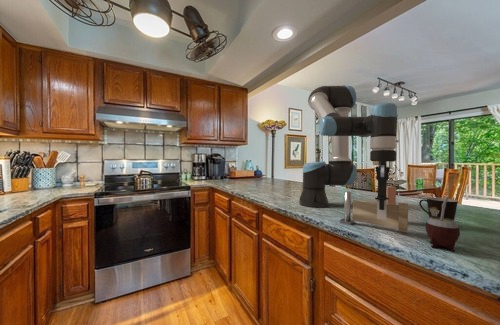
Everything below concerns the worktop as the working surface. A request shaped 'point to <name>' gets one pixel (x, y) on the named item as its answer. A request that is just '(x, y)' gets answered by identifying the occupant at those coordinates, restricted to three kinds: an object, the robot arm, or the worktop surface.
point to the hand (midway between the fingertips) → (381, 218)
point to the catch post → (391, 195)
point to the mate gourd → (442, 231)
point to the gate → (394, 214)
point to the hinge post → (347, 209)
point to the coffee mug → (440, 207)
